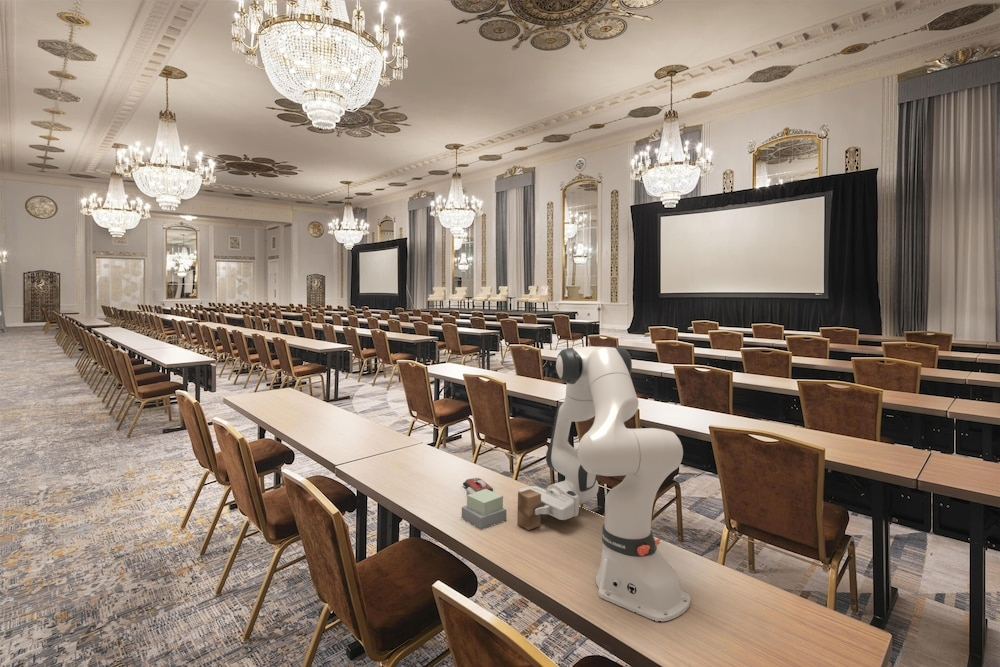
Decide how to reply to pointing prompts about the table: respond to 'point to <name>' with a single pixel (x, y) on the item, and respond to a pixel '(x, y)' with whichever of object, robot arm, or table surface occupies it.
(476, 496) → the tower top block
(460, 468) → the table surface
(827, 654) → the table surface
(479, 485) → the walkie-talkie
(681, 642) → the table surface
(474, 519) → the tower base block
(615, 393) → the robot arm
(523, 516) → the walnut pillar
